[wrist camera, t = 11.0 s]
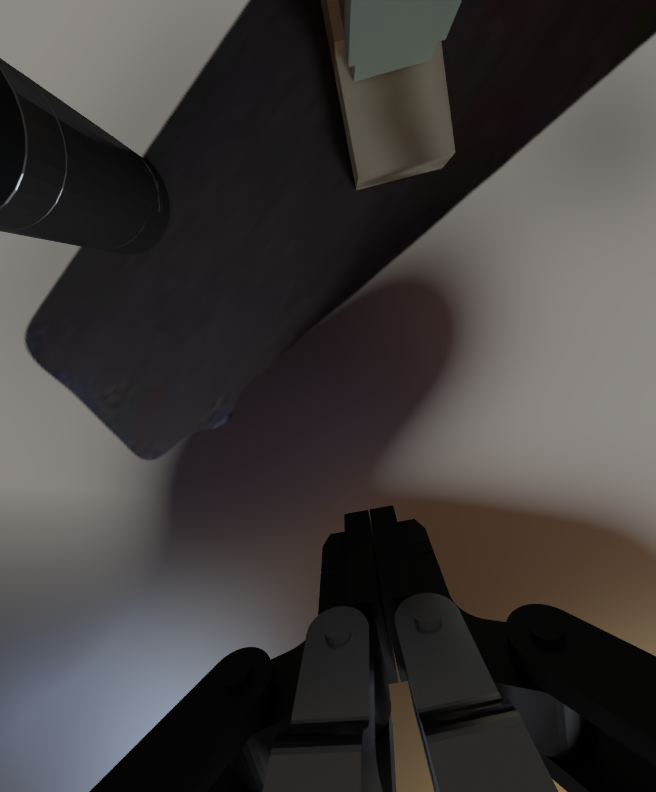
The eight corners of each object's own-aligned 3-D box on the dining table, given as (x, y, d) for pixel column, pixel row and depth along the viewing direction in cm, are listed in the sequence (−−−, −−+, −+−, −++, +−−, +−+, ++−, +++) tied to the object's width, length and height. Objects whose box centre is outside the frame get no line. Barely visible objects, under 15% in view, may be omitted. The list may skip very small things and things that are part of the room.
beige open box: (356, 190, 35) (358, 177, 31) (335, 79, 33) (334, 50, 29) (442, 168, 35) (455, 152, 31) (426, 53, 32) (438, 20, 29)
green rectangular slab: (347, 83, 29) (351, -20, 20) (340, 45, 29) (341, -80, 19) (437, 58, 29) (486, -61, 19) (432, 19, 28) (480, -125, 19)
